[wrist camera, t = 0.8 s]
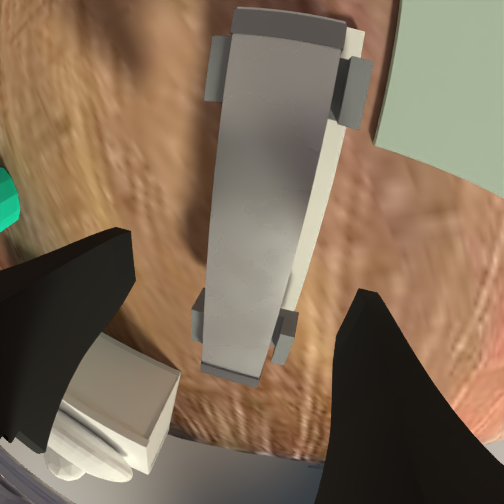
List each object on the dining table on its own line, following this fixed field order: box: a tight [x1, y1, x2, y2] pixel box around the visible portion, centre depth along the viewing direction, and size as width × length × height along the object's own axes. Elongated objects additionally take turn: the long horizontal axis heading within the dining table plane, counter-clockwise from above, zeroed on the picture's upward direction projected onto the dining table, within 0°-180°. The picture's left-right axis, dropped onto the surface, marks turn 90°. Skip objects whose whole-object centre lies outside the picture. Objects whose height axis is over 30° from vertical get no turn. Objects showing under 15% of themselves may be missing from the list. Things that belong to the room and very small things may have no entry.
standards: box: [191, 27, 373, 365], centre depth 13 cm, size 5×18×4 cm, turn 172°
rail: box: [201, 7, 348, 388], centre depth 11 cm, size 3×16×3 cm, turn 172°
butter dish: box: [44, 332, 181, 482], centre depth 24 cm, size 18×18×16 cm
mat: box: [373, 0, 504, 198], centre depth 7 cm, size 8×16×1 cm, turn 172°
